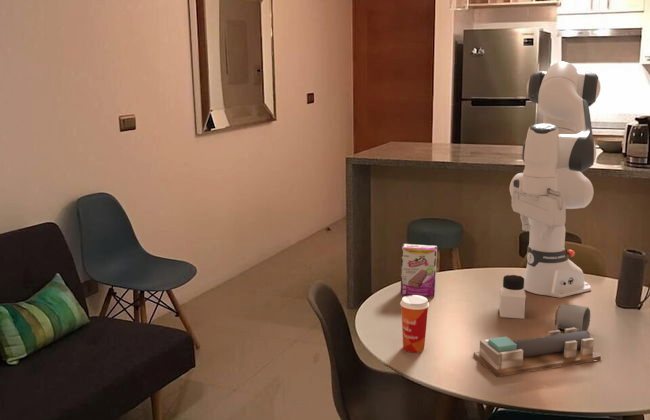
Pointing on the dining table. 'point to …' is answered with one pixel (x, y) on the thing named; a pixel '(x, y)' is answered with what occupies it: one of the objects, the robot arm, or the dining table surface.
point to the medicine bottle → (512, 297)
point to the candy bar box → (418, 270)
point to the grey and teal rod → (538, 343)
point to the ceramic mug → (572, 317)
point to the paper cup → (414, 322)
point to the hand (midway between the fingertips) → (536, 235)
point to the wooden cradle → (535, 357)
